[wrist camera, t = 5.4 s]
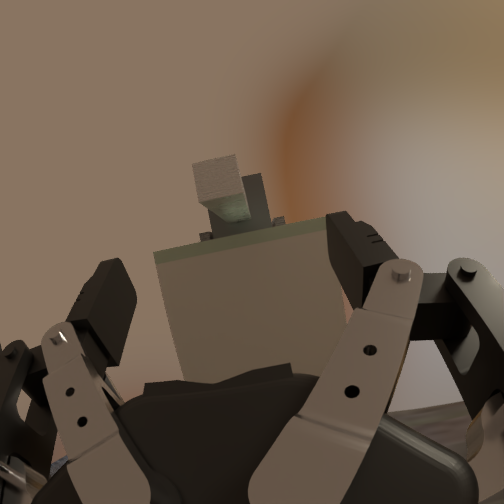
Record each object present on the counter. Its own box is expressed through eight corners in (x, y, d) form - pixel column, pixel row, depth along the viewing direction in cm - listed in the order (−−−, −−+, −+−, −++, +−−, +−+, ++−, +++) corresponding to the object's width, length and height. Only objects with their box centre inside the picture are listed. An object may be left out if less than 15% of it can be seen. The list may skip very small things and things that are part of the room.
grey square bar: (288, 215, 15) (262, 103, 15) (167, 240, 15) (150, 129, 15) (270, 233, 40) (260, 187, 39) (223, 243, 40) (214, 196, 40)
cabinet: (361, 506, 25) (324, 201, 24) (239, 527, 25) (150, 237, 24) (334, 437, 40) (298, 218, 40) (244, 454, 41) (191, 240, 40)
